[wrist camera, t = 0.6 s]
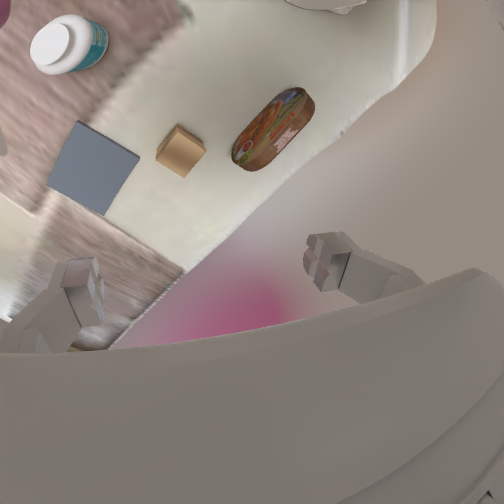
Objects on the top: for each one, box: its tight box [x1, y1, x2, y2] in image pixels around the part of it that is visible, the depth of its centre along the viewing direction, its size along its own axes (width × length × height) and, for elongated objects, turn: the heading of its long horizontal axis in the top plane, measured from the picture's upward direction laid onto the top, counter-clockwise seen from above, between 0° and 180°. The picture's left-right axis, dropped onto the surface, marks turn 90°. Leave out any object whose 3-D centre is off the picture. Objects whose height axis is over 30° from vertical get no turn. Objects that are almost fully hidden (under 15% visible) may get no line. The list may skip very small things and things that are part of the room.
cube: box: [156, 124, 206, 178], centre depth 38 cm, size 5×5×5 cm
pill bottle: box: [30, 15, 108, 75], centre depth 20 cm, size 8×7×14 cm
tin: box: [231, 87, 315, 172], centre depth 38 cm, size 15×3×8 cm, turn 137°
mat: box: [47, 120, 140, 216], centre depth 37 cm, size 12×12×1 cm
